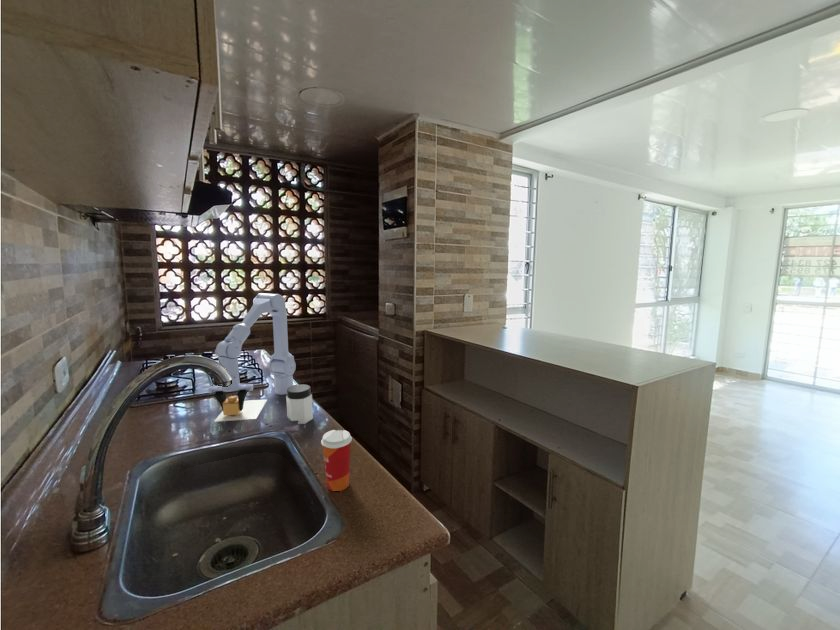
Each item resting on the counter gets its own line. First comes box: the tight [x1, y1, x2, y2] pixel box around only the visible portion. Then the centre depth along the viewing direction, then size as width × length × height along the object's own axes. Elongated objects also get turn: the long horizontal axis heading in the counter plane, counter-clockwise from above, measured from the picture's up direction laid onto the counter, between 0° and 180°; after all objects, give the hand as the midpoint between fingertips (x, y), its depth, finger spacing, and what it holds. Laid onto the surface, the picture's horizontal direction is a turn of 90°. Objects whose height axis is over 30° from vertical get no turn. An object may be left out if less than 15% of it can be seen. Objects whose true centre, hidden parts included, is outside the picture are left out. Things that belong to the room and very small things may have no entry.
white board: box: [213, 399, 268, 423], centre depth 141 cm, size 18×14×2 cm
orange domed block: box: [222, 395, 241, 415], centre depth 136 cm, size 5×5×6 cm
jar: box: [285, 383, 314, 425], centre depth 135 cm, size 9×8×12 cm
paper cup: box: [320, 429, 353, 492], centre depth 97 cm, size 8×8×14 cm
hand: (233, 410), depth 136 cm, fingers closed on orange domed block, 5 cm apart
